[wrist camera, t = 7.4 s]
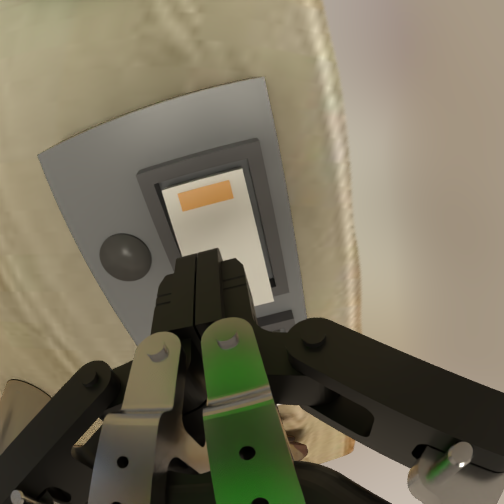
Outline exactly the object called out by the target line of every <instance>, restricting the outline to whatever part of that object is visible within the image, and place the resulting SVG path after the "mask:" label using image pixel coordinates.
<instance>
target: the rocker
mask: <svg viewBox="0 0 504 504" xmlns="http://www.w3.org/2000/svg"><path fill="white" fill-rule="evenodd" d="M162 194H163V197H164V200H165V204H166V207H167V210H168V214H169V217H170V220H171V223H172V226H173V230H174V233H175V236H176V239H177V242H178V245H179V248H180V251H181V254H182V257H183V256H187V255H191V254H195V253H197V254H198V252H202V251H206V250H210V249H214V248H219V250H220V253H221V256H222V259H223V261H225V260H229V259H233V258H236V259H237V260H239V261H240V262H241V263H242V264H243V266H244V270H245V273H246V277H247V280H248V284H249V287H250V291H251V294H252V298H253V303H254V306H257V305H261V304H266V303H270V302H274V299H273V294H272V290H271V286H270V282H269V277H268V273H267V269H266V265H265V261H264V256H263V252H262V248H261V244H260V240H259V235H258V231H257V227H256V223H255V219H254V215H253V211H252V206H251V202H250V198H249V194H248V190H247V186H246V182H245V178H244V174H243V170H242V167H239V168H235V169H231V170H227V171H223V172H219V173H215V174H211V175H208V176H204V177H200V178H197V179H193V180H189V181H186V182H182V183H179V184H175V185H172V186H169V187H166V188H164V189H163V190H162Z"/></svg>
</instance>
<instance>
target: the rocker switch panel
mask: <svg viewBox="0 0 504 504" xmlns="http://www.w3.org/2000/svg"><path fill="white" fill-rule="evenodd" d="M38 158H39V161H40V163H41V166H42V169H43V171H44V174H45V176H46V179H47V181H48V183H49V186H50V188H51V191H52V193H53V195H54V198H55V200H56V202H57V204H58V207H59V209H60V211H61V213H62V215H63V218H64V220H65V222H66V224H67V226H68V228H69V230H70V232H71V234H72V236H73V238H74V240H75V242H76V244H77V246H78V248H79V250H80V252H81V254H82V256H83V257H84V259H85V261H86V263H87V265H88V267H89V269H90V270H91V272H92V274H93V276H94V278H95V279H96V281H97V283H98V284H99V286H100V288H101V290H102V291H103V293H104V295H105V296H106V298H107V300H108V301H109V303H110V305H111V306H112V308H113V309H114V311H115V313H116V314H117V316H118V317H119V319H120V321H121V322H122V324H123V325H124V327H125V328H126V330H127V331H128V333H129V334H130V336H131V337H132V339H133V340H134V342H135V343H136V345H137V346H138V345H139V344H140V343H141V342H142V341H143V340H144V339H145V338H147V337H148V336H150V334H151V327H152V321H153V315H154V309H155V307H156V305H155V304H156V298H157V293H158V287H159V285H160V283H161V282H162V280H163V279H164V277H165V276H166V275H169V274H173V273H174V271H175V264H176V259H177V258H179V257H182V254H181V251H180V248H179V245H178V242H177V239H176V236H175V233H174V230H173V226H172V223H171V220H170V217H169V214H168V210H167V207H166V204H165V200H164V197H163V194H162V190H163V189H164V188H166V187H169V186H172V185H175V184H179V183H182V182H186V181H189V180H193V179H197V178H200V177H204V176H208V175H211V174H215V173H219V172H223V171H227V170H231V169H235V168H239V167H242V170H243V174H244V178H245V182H246V186H247V190H248V194H249V198H250V202H251V206H252V211H253V215H254V219H255V223H256V227H257V231H258V235H259V240H260V244H261V248H262V252H263V256H264V261H265V265H266V269H267V273H268V277H269V282H270V286H271V290H272V294H273V299H274V302H270V303H266V304H261V305H257V306H254V308H255V313H256V318H257V323H258V326H259V327H261V328H263V329H264V330H267V331H271V332H272V331H276V330H280V332H288V331H289V330H290V329H291V328H292V327H293V326H294V325H295V324H297V323H298V322H300V321H302V320H305V319H307V315H306V308H305V301H304V294H303V287H302V280H301V273H300V266H299V260H298V253H297V247H296V240H295V234H294V228H293V222H292V216H291V210H290V204H289V199H288V193H287V187H286V182H285V176H284V171H283V166H282V160H281V155H280V150H279V145H278V140H277V134H276V130H275V125H274V120H273V115H272V110H271V105H270V101H269V96H268V91H267V87H266V82H265V78H264V77H254V78H248V79H244V80H239V81H234V82H230V83H226V84H221V85H217V86H213V87H209V88H205V89H202V90H198V91H194V92H191V93H187V94H184V95H180V96H177V97H174V98H170V99H167V100H164V101H161V102H158V103H155V104H152V105H149V106H146V107H143V108H140V109H138V110H135V111H132V112H129V113H127V114H124V115H121V116H119V117H116V118H114V119H111V120H109V121H106V122H104V123H101V124H99V125H97V126H94V127H92V128H90V129H87V130H85V131H83V132H81V133H79V134H76V135H74V136H72V137H70V138H68V139H66V140H64V141H62V142H60V143H58V144H56V145H54V146H52V147H51V148H49V149H47V150H45V151H43V152H42V153H40V154H38Z"/></svg>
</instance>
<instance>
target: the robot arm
mask: <svg viewBox="0 0 504 504" xmlns="http://www.w3.org/2000/svg"><path fill="white" fill-rule="evenodd" d="M155 305H156V307H155V309H154V315H153V321H152V327H151V334H150V336H148V337H147V338H145V339H144V340H143V341H142V342H141V343H140V344H139V345H138V347H137V349H136V351H135V355H134V358H133V360H132V361H130V362H128V363H126V364H124V365H121V366H119V367H117V368H115V369H111V368H110V366H109V365H108V364H107V363H105V362H103V361H92V362H89V363H87V364H85V365H84V366H82V367H81V368H80V369H79V370H78V371H77V372H76V373H75V374H74V375H73V376H72V377H71V379H70V380H69V381H68V382H67V383H66V384H65V385H64V386H63V387H62V388H61V389H60V390H59V391H58V392H57V393H56V394H55V395H54V396H53V398H52V399H51V398H50V397H49V396H48V395H46V394H45V393H44V392H42V391H41V390H39V389H37V388H35V387H34V386H32V385H29V384H27V383H24V382H21V381H17V380H10V381H8V382H7V384H6V387H5V389H4V392H3V395H2V397H1V400H0V504H392V503H390V502H388V501H386V500H384V499H382V498H381V497H379V496H377V495H375V494H373V493H372V492H370V491H369V490H367V489H365V488H363V487H362V486H360V485H359V484H357V483H355V482H353V481H352V480H350V479H349V478H347V477H345V476H344V475H342V474H341V473H339V472H337V471H335V470H333V469H330V468H328V467H325V466H322V465H319V464H315V463H311V462H304V461H295V460H294V457H293V454H292V451H291V447H290V444H289V441H288V438H287V435H286V432H285V429H284V426H283V423H282V419H281V416H280V413H279V410H278V406H277V404H285V405H300V407H301V408H302V409H303V410H305V411H306V412H308V413H310V414H311V415H313V416H314V417H316V418H318V419H319V420H321V421H323V422H324V423H326V424H328V425H330V426H331V427H333V428H335V429H336V430H338V431H340V432H342V433H343V434H345V435H347V436H349V437H351V438H352V439H354V440H356V441H358V442H360V443H362V444H363V445H365V446H367V447H369V448H371V449H373V450H375V451H377V452H379V453H380V454H382V455H384V456H386V457H388V458H390V459H392V460H394V461H396V462H399V463H400V464H403V465H405V466H407V467H409V468H411V469H410V471H409V474H408V479H407V480H408V481H407V482H408V488H409V490H410V492H411V494H412V495H413V496H414V497H415V498H417V499H418V500H420V501H421V502H422V503H423V504H497V502H498V500H499V498H500V496H501V494H502V492H503V489H504V393H503V392H500V391H497V390H495V389H492V388H490V387H487V386H484V385H482V384H479V383H477V382H474V381H472V380H469V379H467V378H464V377H462V376H459V375H457V374H454V373H452V372H449V371H447V370H444V369H442V368H440V367H437V366H434V365H432V364H430V363H428V362H425V361H423V360H421V359H418V358H416V357H413V356H411V355H409V354H406V353H404V352H401V351H399V350H397V349H394V348H392V347H390V346H388V345H385V344H383V343H381V342H378V341H376V340H374V339H371V338H369V337H367V336H365V335H362V334H360V333H358V332H355V331H353V330H351V329H349V328H346V327H344V326H342V325H340V324H337V323H335V322H333V321H331V320H328V319H325V318H309V319H305V320H302V321H300V322H298V323H297V324H295V325H294V326H293V327H292V328H291V329H290V330H289V331H288V332H271V331H267V330H264V329H263V328H261V327H259V326H258V323H257V318H256V313H255V308H254V303H253V298H252V294H251V291H250V287H249V284H248V280H247V277H246V273H245V270H244V266H243V264H242V263H241V262H240V261H239V260H237V259H236V258H233V259H229V260H225V261H223V259H222V256H221V253H220V250H219V248H214V249H210V250H206V251H202V252H198V254H197V253H195V254H191V255H187V256H183V257H179V258H177V259H176V264H175V271H174V273H173V274H169V275H166V276H165V277H164V279H163V280H162V282H161V283H160V285H159V287H158V293H157V298H156V304H155ZM98 417H99V418H100V419H101V420H102V421H103V424H102V425H101V427H100V428H99V429H98V430H97V431H96V432H95V433H94V434H93V436H92V437H91V438H90V439H89V440H88V441H87V442H86V443H85V444H84V445H83V446H81V447H73V445H74V444H75V443H76V442H77V441H78V440H79V439H80V437H81V436H82V435H83V434H84V433H85V432H86V431H87V430H88V429H89V427H90V426H91V425H92V424H93V423H94V422H95V421H96V420H97V419H98Z"/></svg>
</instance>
